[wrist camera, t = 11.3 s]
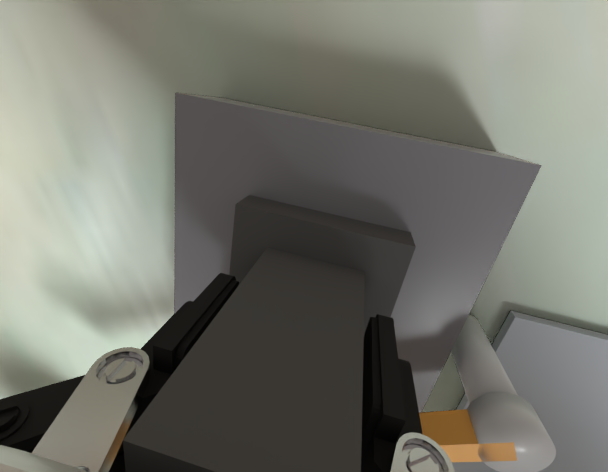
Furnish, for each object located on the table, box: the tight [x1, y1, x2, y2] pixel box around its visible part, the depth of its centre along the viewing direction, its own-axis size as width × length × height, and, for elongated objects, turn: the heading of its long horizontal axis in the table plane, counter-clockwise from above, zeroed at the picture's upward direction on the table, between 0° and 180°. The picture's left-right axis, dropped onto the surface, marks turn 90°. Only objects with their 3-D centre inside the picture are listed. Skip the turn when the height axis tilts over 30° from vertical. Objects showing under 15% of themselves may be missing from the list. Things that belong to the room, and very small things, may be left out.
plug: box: [123, 195, 416, 472], centre depth 11 cm, size 7×7×12 cm
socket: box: [174, 93, 541, 413], centre depth 15 cm, size 17×14×6 cm
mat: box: [452, 311, 608, 472], centre depth 19 cm, size 14×14×1 cm
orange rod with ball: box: [419, 392, 556, 472], centre depth 16 cm, size 26×3×2 cm, turn 110°
